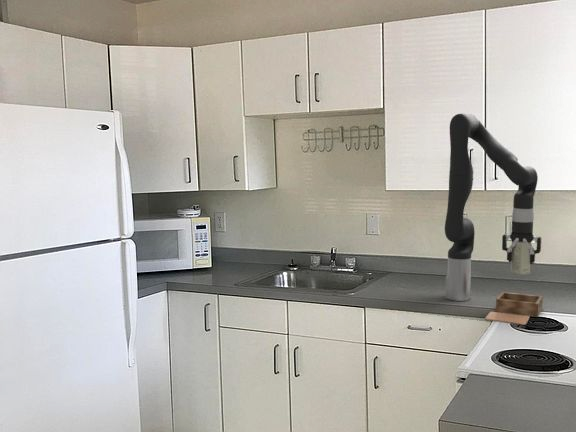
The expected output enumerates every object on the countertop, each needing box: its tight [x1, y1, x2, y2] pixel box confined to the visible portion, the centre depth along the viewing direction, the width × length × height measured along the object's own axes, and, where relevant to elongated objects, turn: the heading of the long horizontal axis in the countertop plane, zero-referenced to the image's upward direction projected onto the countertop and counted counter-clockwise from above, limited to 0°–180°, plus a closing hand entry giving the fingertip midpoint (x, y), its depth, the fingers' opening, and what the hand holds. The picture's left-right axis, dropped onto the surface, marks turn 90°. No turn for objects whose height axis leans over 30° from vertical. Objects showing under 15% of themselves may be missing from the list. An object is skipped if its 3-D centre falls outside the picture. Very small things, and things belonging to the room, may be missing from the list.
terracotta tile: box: [484, 311, 531, 326], centre depth 230 cm, size 14×10×1 cm
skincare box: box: [510, 241, 532, 275], centre depth 238 cm, size 6×4×12 cm
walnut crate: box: [495, 291, 544, 318], centre depth 240 cm, size 15×12×5 cm
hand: (520, 262), depth 238 cm, fingers closed on skincare box, 7 cm apart
